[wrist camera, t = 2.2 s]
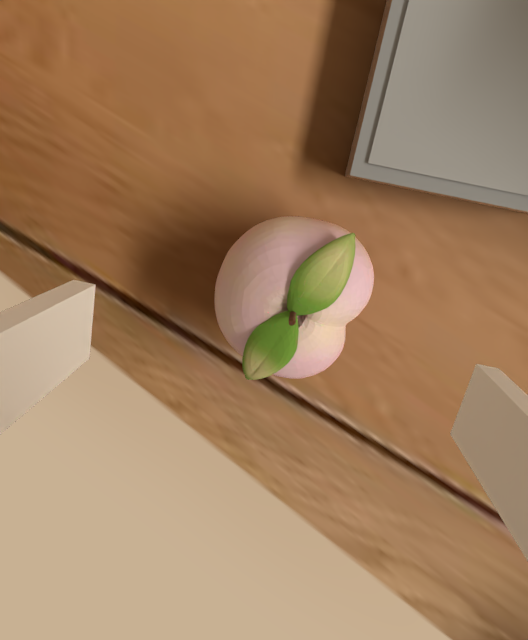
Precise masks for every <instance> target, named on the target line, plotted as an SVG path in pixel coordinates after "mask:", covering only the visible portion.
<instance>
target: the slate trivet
mask: <svg viewBox="0 0 528 640" xmlns="http://www.w3.org/2000/svg"><path fill="white" fill-rule="evenodd" d="M345 177H350V178H355V179H360V180H365V181H370V182H375V183H380V184H385V185H389V186H394V187H399V188H404V189H409V190H414V191H419V192H424V193H428V194H433V195H438V196H443V197H448V198H453V199H458V200H463V201H468V202H472V203H477V204H482V205H487V206H492V207H497V208H502V209H507V210H511V211H516V212H521V213H526V214H528V0H387V1H386V5H385V9H384V13H383V18H382V22H381V26H380V30H379V34H378V39H377V43H376V47H375V51H374V55H373V60H372V64H371V68H370V72H369V76H368V81H367V85H366V89H365V93H364V97H363V102H362V106H361V110H360V114H359V118H358V122H357V127H356V131H355V135H354V139H353V143H352V148H351V152H350V156H349V160H348V164H347V169H346V173H345Z"/></svg>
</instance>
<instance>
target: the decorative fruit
mask: <svg viewBox="0 0 528 640" xmlns="http://www.w3.org/2000/svg"><path fill="white" fill-rule="evenodd" d="M373 283H374V272H373V265H372V263H371V260H370V257H369V255H368V253H367V251H366V250H365V248H364V247H363V245H362V244H361V243H360V242H359V241H358V240H357V238H356V237H355V234H354V233H350V232H349V231H347V230H346V229H344V228H342V227H340V226H338V225H336V224H333V223H330V222H327V221H323V220H319V219H314V218H308V217H300V216H283V217H277V218H273V219H269V220H266V221H264V222H261V223H259V224H257V225H255V226H254V227H252V228H251V229H249V230H248V231H247V232H246V233H244V234H243V235H242V236H241V237H240V238H239V239H238V240H237V241H236V242H235V243H234V244H233V246H232V247H231V248H230V250H229V251H228V253H227V255H226V257H225V259H224V261H223V263H222V266H221V268H220V271H219V274H218V277H217V281H216V286H215V312H216V317H217V321H218V324H219V327H220V329H221V331H222V333H223V335H224V337H225V338H226V340H227V341H228V343H229V344H230V345H231V346H232V347H233V348H234V349H235V350H236V351H237V352H238V353H239V354H240V355H241V356H243V371H244V374H245V378H246V379H248V380H249V379H251V380H253V379H261V378H265V377H267V376H270V375H272V374H273V375H276V376H280V377H285V378H304V377H308V376H313V375H315V374H317V373H320V372H322V371H324V370H325V369H326V368H328V367H329V366H330V365H331V364H332V363H333V362H334V361H335V360H336V359H337V358H338V356H339V354H340V353H341V351H342V349H343V346H344V342H345V327H346V324H347V323H348V322H350V321H351V320H353V319H354V318H355V317H357V316H358V315H359V313H360V312H361V311H362V310H363V308H364V307H365V306H366V305H367V303H368V301H369V299H370V297H371V293H372V289H373Z"/></svg>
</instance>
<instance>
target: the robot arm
mask: <svg viewBox="0 0 528 640" xmlns="http://www.w3.org/2000/svg"><path fill="white" fill-rule="evenodd" d="M94 297H95V284H91V283H86V282H81V281H76V280H72V281H70V282H68V283H65V284H63V285H61V286H59V287H56V288H54V289H52V290H49V291H47V292H45V293H43V294H40V295H38V296H36V297H33V298H31V299H29V300H27V301H24V302H22V303H20V304H18V305H15V306H13V307H11V308H9V309H6V310H4V311H2V312H0V434H1V433H3V432H4V431H5V430H6V429H7V428H8V427H10V426H11V425H12V424H13V423H14V422H16V421H17V420H18V419H19V418H20V417H21V416H22V415H24V414H25V413H26V412H27V411H28V410H30V409H31V408H32V407H33V406H34V405H35V404H36V403H38V402H39V401H40V400H41V399H42V398H44V397H45V396H46V395H47V394H48V393H50V392H51V391H52V390H53V389H54V388H55V387H56V386H58V385H59V384H60V383H61V382H62V381H64V380H65V379H66V378H67V377H68V376H69V375H71V374H72V373H73V372H74V371H75V370H76V369H78V368H79V367H80V366H81V365H82V364H83V363H85V362H86V361H87V360H88V359H89V358H90V347H91V334H92V322H93V309H94ZM450 434H451V436H452V438H453V439H454V441H455V443H456V444H457V446H458V448H459V449H460V451H461V453H462V454H463V456H464V457H465V459H466V461H467V462H468V464H469V466H470V467H471V469H472V471H473V472H474V474H475V476H476V477H477V479H478V480H479V482H480V484H481V485H482V487H483V489H484V490H485V492H486V494H487V495H488V497H489V499H490V500H491V502H492V503H493V505H494V507H495V508H496V510H497V512H498V513H499V515H500V517H501V518H502V520H503V522H504V523H505V525H506V526H507V528H508V530H509V531H510V533H511V535H512V536H513V538H514V540H515V541H516V543H517V544H518V546H519V548H520V549H521V551H522V553H523V554H524V556H525V558H526V559H527V561H528V395H527V394H526V393H525V392H524V391H523V390H521V389H520V388H519V387H518V386H517V385H516V384H515V383H514V382H513V381H512V380H511V379H510V378H508V377H507V376H506V375H505V374H504V373H503V372H502V371H501V370H500V369H499V368H494V367H489V366H484V365H480V364H476V366H475V369H474V371H473V374H472V377H471V379H470V382H469V385H468V387H467V390H466V393H465V395H464V398H463V401H462V404H461V406H460V409H459V412H458V414H457V417H456V420H455V422H454V425H453V428H452V430H451V433H450Z"/></svg>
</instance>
